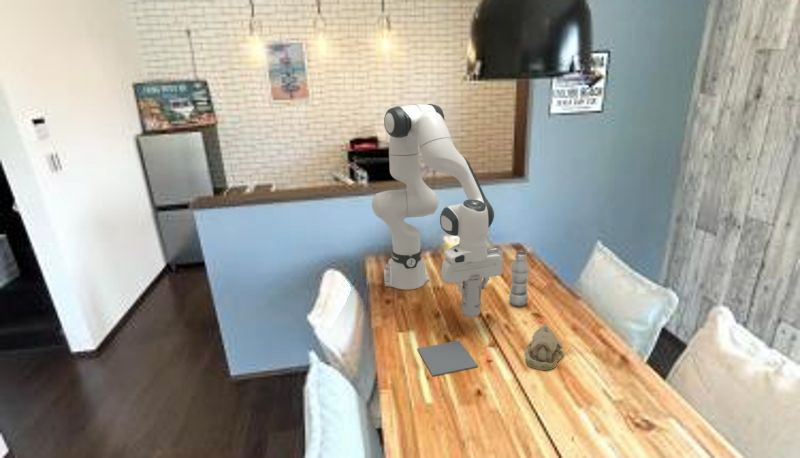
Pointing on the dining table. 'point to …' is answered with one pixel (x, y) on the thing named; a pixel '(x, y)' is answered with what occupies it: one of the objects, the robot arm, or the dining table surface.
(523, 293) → the plastic bottle
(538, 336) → the ceramic model
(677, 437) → the dining table surface
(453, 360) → the mat
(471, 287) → the energy drink can
